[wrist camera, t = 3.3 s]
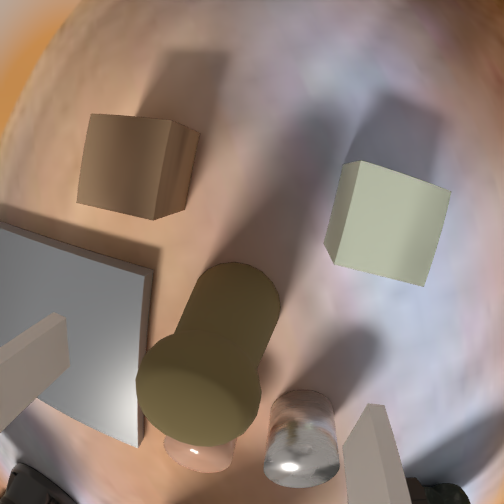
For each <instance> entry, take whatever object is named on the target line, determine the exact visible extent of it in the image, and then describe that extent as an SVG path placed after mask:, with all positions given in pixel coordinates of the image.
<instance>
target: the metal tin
mask: <svg viewBox="0 0 504 504" xmlns="http://www.w3.org/2000/svg"><path fill="white" fill-rule="evenodd" d="M339 467H340V463H339V454H338V446H337V437H336V429H335V422H334V414H333V407H332V404H331V402H330V401H329V399H328V398H327V397H325V396H324V395H322V394H320V393H318V392H315V391H310V390H297V391H292V392H289V393H286V394H284V395H282V396H281V397H279V398H278V399H277V400H276V401H275V402H274V403H273V405H272V407H271V411H270V419H269V428H268V436H267V445H266V453H265V460H264V473H265V475H266V476H267V477H268V478H269V479H270V480H271V481H273V482H274V483H276V484H279V485H281V486H285V487H291V488H307V487H313V486H317V485H320V484H322V483H325V482H327V481H328V480H330V479H331V478H333V477H334V476H335V475H336V474H337V472H338V470H339Z"/></svg>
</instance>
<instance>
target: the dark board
mask: <svg viewBox="0 0 504 504" xmlns="http://www.w3.org/2000/svg"><path fill="white" fill-rule="evenodd" d="M153 271H154V270H153V269H149V268H146V267H142V266H139V265H135V264H132V263H128V262H125V261H122V260H118V259H115V258H112V257H108V256H105V255H102V254H98V253H95V252H92V251H89V250H85V249H82V248H79V247H76V246H73V245H70V244H66V243H63V242H60V241H57V240H54V239H51V238H48V237H45V236H42V235H39V234H36V233H33V232H30V231H27V230H24V229H21V228H18V227H15V226H12V225H10V224H7V223H4V222H1V221H0V347H2V346H3V345H5V344H6V343H8V342H9V341H11V340H12V339H14V338H15V337H17V336H18V335H20V334H21V333H23V332H24V331H26V330H27V329H29V328H30V327H32V326H33V325H35V324H36V323H38V322H39V321H41V320H42V319H44V318H45V317H47V316H48V315H50V314H52V313H53V312H55V313H57V314H59V315H61V316H63V317H66V326H67V339H68V349H69V359H70V367H69V368H68V369H67V370H66V371H64V372H63V373H62V374H61V375H60V376H59V377H58V378H57V379H56V380H55V381H54V382H53V383H52V384H51V385H49V386H48V387H47V388H46V389H45V390H44V391H43V392H42V393H41V394H40V395H39V396H38V397H37V398H38V399H40V400H41V401H43V402H45V403H46V404H48V405H50V406H52V407H53V408H55V409H57V410H59V411H60V412H62V413H64V414H66V415H68V416H69V417H71V418H73V419H75V420H77V421H79V422H81V423H83V424H85V425H87V426H89V427H91V428H93V429H95V430H97V431H99V432H102V433H104V434H106V435H108V436H110V437H113V438H115V439H117V440H119V441H122V442H124V443H127V444H129V445H131V446H134V447H136V448H138V447H139V446H140V444H141V442H142V440H143V438H144V414H143V412H142V410H141V407H140V405H139V403H138V400H137V395H136V382H135V379H136V375H137V372H138V369H139V366H140V364H141V361H142V359H143V357H144V356H145V354H146V345H147V332H148V320H149V309H150V298H151V289H152V280H153Z"/></svg>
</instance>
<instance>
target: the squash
mask: <svg viewBox="0 0 504 504" xmlns="http://www.w3.org/2000/svg"><path fill="white" fill-rule="evenodd" d="M423 488H424V491H425V495H426V498H427V499H426V501H427V502H428V504H470V501H469V499H468V496H467V495H466V494H465V492H464V491H463V489H461V488H460V487H459V486H457V485H455V484H449V483H442V484H437V485H435V486H433V487H423Z"/></svg>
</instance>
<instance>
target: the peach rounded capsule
mask: <svg viewBox="0 0 504 504" xmlns="http://www.w3.org/2000/svg"><path fill="white" fill-rule="evenodd" d="M236 441H237V438H235V439H233V440H232V441H230V442H228V443H226V444H223V445H218V446H212V447H204V446H193V445H189V444H186V443H182V442H179V441H177V440H175V439H173V438H171V437H169V436H167V435H166V437H165V439H164V448H165V450H166V452H167V454H168V455H169V456H170V457H171V458H172V459H173V460H174V461H175V462H177V463H178V464H180V465H182V466H184V467H186V468H188V469H191V470H194V471H198V472H204V473H215V472H220V471H223V470H225V469H226V468H228V467H229V466H230V464H231V462H232V458H233V454H234V449H235V445H236Z"/></svg>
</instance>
